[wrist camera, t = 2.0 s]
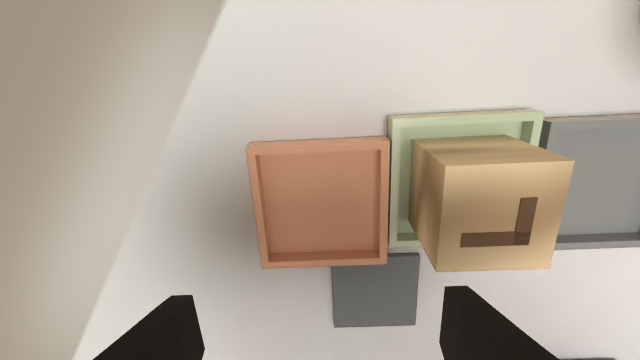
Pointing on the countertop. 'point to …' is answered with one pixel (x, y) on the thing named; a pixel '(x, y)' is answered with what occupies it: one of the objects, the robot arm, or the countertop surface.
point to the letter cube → (486, 202)
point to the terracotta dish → (321, 201)
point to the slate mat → (376, 292)
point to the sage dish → (436, 126)
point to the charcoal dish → (598, 179)
